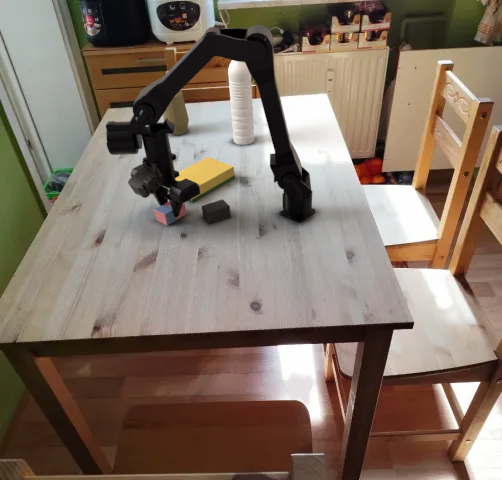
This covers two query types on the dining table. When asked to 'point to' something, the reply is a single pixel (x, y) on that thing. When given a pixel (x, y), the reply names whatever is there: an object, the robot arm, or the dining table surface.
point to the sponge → (207, 175)
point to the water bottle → (241, 103)
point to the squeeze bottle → (177, 113)
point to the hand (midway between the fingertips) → (171, 213)
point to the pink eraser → (168, 213)
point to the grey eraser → (216, 211)
